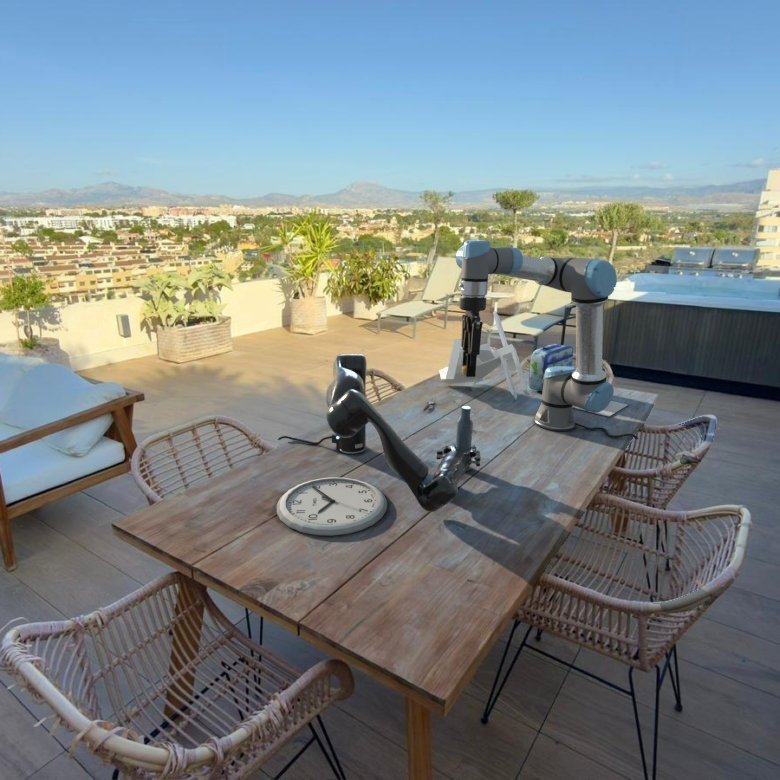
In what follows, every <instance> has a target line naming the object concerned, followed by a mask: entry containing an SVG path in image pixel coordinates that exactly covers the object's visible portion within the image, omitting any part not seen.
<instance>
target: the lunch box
mask: <svg viewBox="0 0 780 780" xmlns="http://www.w3.org/2000/svg"><path fill="white" fill-rule="evenodd" d="M573 358H574V349H573V346H571V345H565V344H558V343H553V344H548V345H546V346H542V347H540V348H537V349H535V350H534V351H533V352H532V354H531V357H530V362H529V374H528V375H529V376H528V387H529V388H528V389H530V390H534V391H539V392H542V390H543V380H544V379H543V378H544V375H545V370H546V369H547V368H549V367H555V366H569V367H573Z"/></svg>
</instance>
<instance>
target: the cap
mask: <svg viewBox="0 0 780 780" xmlns="http://www.w3.org/2000/svg"><path fill="white" fill-rule="evenodd" d="M462 374H463V375H466V365H464V366H462Z"/></svg>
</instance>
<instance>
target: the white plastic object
mask: <svg viewBox="0 0 780 780" xmlns="http://www.w3.org/2000/svg"><path fill="white" fill-rule="evenodd" d="M492 315H493V319H494V321H495V324H496V325H495V326H496V328H497V332H498V335H499V338H500V342H501V345H502V347H500V348H498V349H496V350H495V349H493V348H492V347H491V346H490V344H489V343H488V342H487V343H483V344H480V354H479V355H477V359H476V374H475V377H466V375H463V374H462V360H463V349H462V348H463V347H461V339H462V338H460V339H458V338H454V340H453V344H452V349H451V353H450V357H449V362H448V366H446V367H444V368H442V369H440V370H439V371H438V372H439V376H440V381H442V383H443V384H444V385H445V386H449V385H458V384H467V383H468V384H469V383H473V384H477V383H480V382H482V381H484V378H485V377H486V376H487V375H489V374H490V373H492V372H494V371H495V370H496V369H497V368H499V367H500V366H502V370H503V373H504V376H505V380H506V383H507V386H508V390H509V393H510V394H511V395H512V397H513V398H514V399H515V400H517V392H516V391H517V390H516V388H515V385H514V381H513V378H512V375H511V371H510V369H509V365H508V361H510V360H513V363H514V366H515V369H516V372H517V376H518V380H519V382H520V385H521V389H522V391H523V393H524V395H525V396H526V397H528V396H531V395H530V390H529V388H528V387H529V386H528V384H527V381H526V378H525V375H524V371H523V369H522V368H523V367H522V366H521V362H520V359H519V355H518V352H517V349H516V347H515V346H514V345H513V343H511V344H508V341H507V337H506V334H505V331H504V328H503V325H502V321H501V318H500V315H499V314H498V312H497V311H496V310H495V311H492Z"/></svg>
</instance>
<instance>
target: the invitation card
mask: <svg viewBox="0 0 780 780" xmlns="http://www.w3.org/2000/svg"><path fill="white" fill-rule="evenodd" d="M628 406H629V404H627V403H623V402H618V401H614V400H611V401H610V403H609V404H608V406H607V407H606V408H605V409H604V410H602V411H600V412H597V413H594V412H590V411H586V410H584V409H582V408H579V407H576V406H573V409H575V410H581V411H584V412H587V413H593V414H596V415H600V416H604V417H608V418H609V417H611V416H613V415H614V414H616V413H617V412H619V411H621V410H623V409H624V408H626V407H628Z"/></svg>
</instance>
